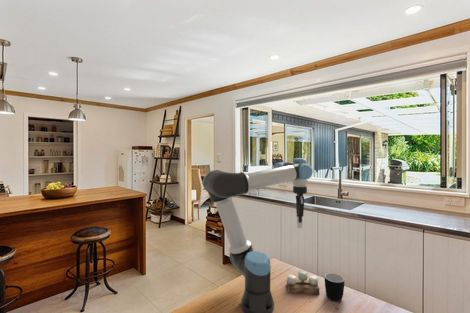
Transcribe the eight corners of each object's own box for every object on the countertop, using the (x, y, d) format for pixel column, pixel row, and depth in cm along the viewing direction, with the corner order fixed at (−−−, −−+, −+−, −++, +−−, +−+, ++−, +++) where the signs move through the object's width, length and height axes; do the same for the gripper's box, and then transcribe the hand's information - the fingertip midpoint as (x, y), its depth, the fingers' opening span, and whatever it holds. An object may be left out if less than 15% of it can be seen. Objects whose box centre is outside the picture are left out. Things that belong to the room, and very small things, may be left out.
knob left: (288, 289, 127) (288, 278, 127) (286, 284, 132) (286, 274, 131) (296, 289, 127) (296, 279, 127) (295, 284, 131) (295, 274, 131)
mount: (288, 293, 125) (289, 287, 125) (286, 284, 133) (286, 278, 133) (319, 294, 124) (319, 288, 124) (315, 285, 132) (315, 280, 132)
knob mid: (299, 285, 127) (299, 274, 127) (297, 280, 131) (297, 270, 131) (307, 285, 126) (307, 274, 126) (306, 280, 131) (306, 270, 131)
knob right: (310, 290, 126) (310, 279, 126) (308, 285, 131) (308, 275, 131) (318, 290, 126) (318, 280, 126) (316, 285, 131) (316, 275, 130)
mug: (346, 304, 116) (347, 283, 116) (326, 302, 118) (327, 281, 117) (339, 290, 128) (339, 270, 128) (321, 288, 129) (321, 269, 129)
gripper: (309, 187, 133) (309, 231, 133) (304, 184, 146) (304, 224, 146) (295, 187, 133) (294, 231, 134) (291, 184, 146) (291, 224, 147)
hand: (299, 227), depth 140 cm, fingers closed
